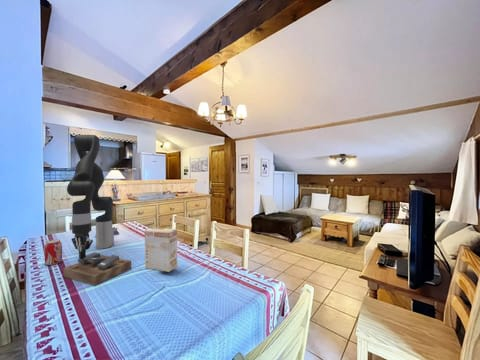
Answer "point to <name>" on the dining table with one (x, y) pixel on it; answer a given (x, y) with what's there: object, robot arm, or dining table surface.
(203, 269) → the dining table surface
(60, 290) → the dining table surface
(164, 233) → the coffeecake box
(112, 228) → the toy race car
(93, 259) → the rocker
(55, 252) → the soda can
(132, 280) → the dining table surface
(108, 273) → the switch unit
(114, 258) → the rocker
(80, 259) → the rocker
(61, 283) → the dining table surface
